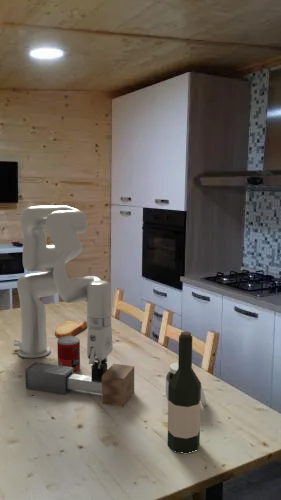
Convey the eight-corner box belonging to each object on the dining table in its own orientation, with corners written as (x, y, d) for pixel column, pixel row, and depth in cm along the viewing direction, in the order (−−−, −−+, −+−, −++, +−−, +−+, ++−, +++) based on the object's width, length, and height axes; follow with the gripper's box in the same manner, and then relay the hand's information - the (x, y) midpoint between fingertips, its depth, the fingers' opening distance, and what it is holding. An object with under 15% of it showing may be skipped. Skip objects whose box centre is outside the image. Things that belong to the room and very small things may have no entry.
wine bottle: (165, 436, 125) (166, 328, 120) (196, 435, 126) (198, 327, 121) (169, 454, 117) (171, 339, 112) (202, 453, 117) (206, 338, 113)
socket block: (102, 403, 143) (101, 375, 142) (113, 389, 152) (113, 363, 151) (123, 407, 141) (123, 378, 140) (134, 393, 150) (134, 366, 149)
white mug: (162, 397, 147) (162, 362, 146) (193, 391, 152) (194, 357, 150) (180, 415, 136) (180, 377, 135) (213, 408, 141) (214, 371, 139)
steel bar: (54, 386, 151) (53, 361, 150) (59, 382, 155) (59, 357, 153) (113, 396, 145) (113, 369, 144) (118, 391, 148) (117, 364, 147)
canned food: (76, 374, 165) (75, 343, 163) (54, 372, 166) (53, 342, 165) (83, 365, 172) (82, 336, 171) (62, 363, 174) (61, 335, 172)
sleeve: (25, 388, 153) (25, 369, 152) (36, 380, 159) (35, 362, 158) (64, 394, 149) (64, 375, 148) (73, 386, 155) (73, 367, 154)
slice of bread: (60, 341, 199) (60, 332, 199) (45, 329, 214) (45, 321, 214) (98, 334, 208) (98, 325, 208) (82, 323, 224) (81, 315, 223)
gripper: (100, 330, 136) (100, 390, 139) (119, 314, 151) (119, 368, 154) (76, 327, 138) (77, 386, 141) (98, 312, 154) (98, 365, 157)
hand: (99, 376), depth 148 cm, fingers closed on steel bar, 3 cm apart
